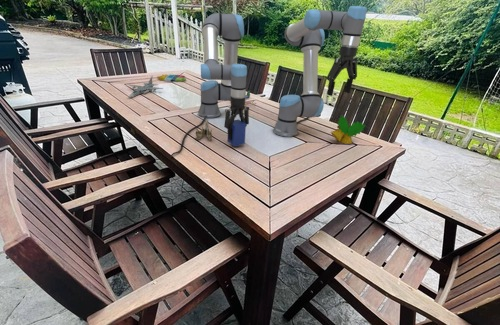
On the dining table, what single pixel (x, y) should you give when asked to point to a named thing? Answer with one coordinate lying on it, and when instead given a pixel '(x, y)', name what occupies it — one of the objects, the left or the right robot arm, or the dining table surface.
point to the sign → (172, 78)
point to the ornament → (347, 130)
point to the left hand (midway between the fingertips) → (236, 138)
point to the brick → (238, 133)
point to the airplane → (143, 88)
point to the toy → (248, 97)
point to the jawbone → (204, 132)
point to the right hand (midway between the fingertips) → (338, 93)
